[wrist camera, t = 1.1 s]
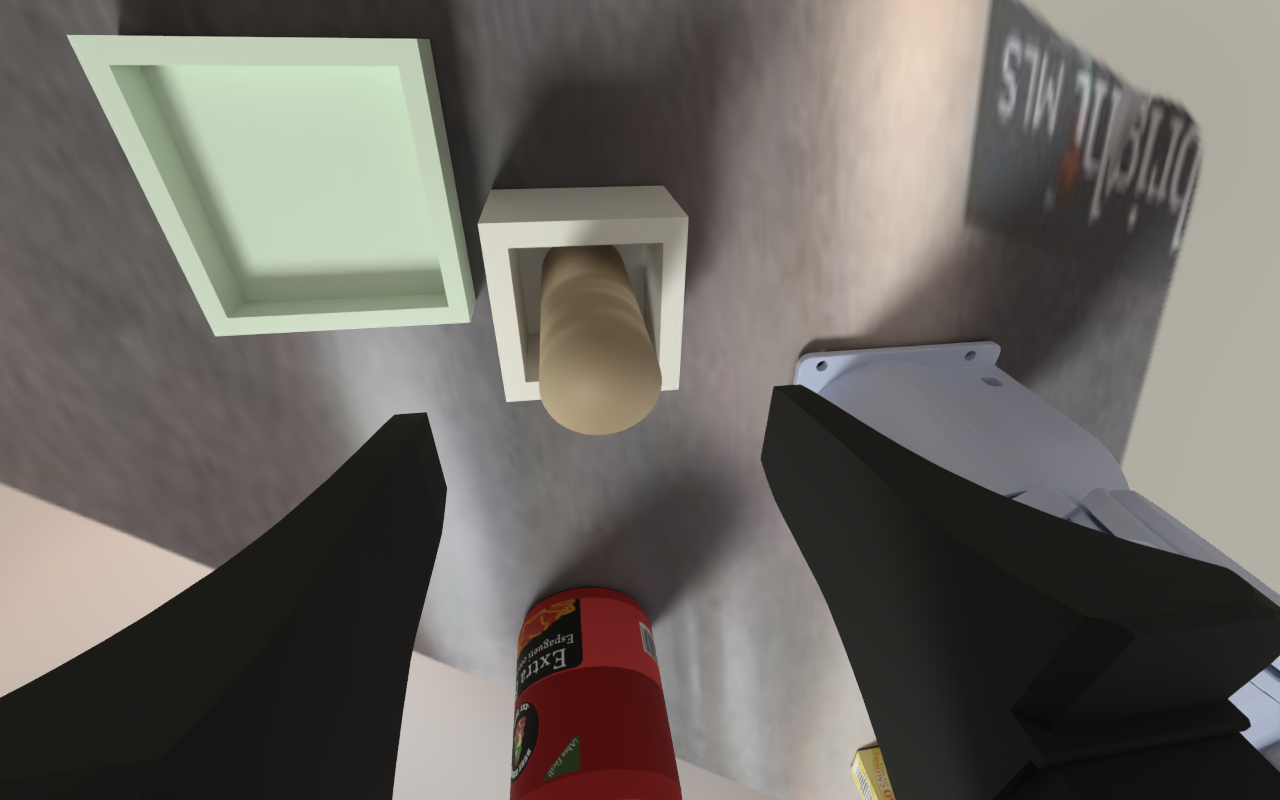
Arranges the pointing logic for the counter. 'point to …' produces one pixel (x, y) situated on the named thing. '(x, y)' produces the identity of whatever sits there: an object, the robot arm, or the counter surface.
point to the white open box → (577, 217)
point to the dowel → (594, 343)
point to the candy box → (871, 775)
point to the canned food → (590, 703)
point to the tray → (293, 175)
